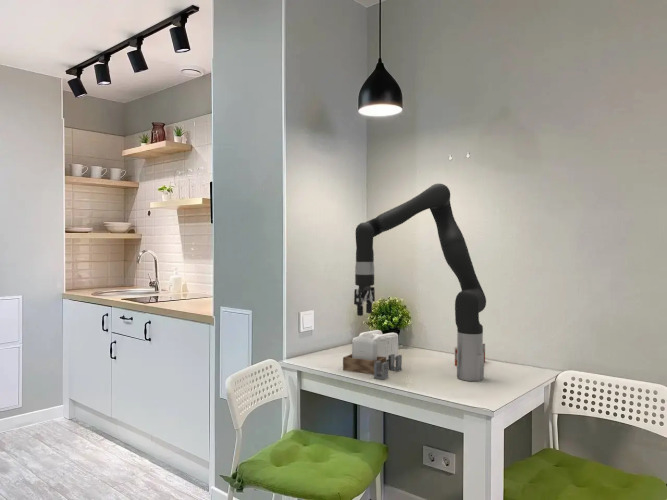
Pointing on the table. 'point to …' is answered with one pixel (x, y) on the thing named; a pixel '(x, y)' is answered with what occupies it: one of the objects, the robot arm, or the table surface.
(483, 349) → the medicine box
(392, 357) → the cable clip
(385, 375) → the cable clip
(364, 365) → the wooden box
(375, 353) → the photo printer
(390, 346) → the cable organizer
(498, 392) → the table surface
